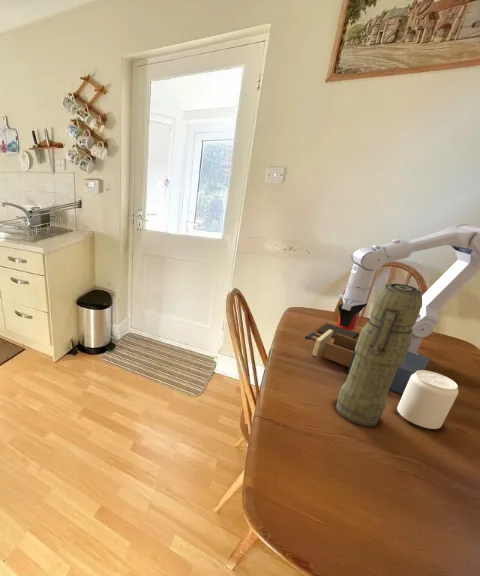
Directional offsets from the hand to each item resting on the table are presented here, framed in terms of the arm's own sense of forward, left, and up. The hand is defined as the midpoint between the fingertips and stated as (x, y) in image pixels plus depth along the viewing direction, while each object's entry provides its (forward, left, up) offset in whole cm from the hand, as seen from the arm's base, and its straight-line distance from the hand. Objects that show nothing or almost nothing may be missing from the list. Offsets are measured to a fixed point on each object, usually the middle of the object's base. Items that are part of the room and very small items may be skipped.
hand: (346, 323), depth 104 cm
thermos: (+31, +13, -10) cm, 36 cm away
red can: (0, 0, -1) cm, 1 cm away
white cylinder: (+21, +23, -10) cm, 33 cm away
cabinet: (+6, +13, -10) cm, 18 cm away
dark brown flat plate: (-14, -5, -10) cm, 18 cm away
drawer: (+6, +1, -9) cm, 11 cm away
